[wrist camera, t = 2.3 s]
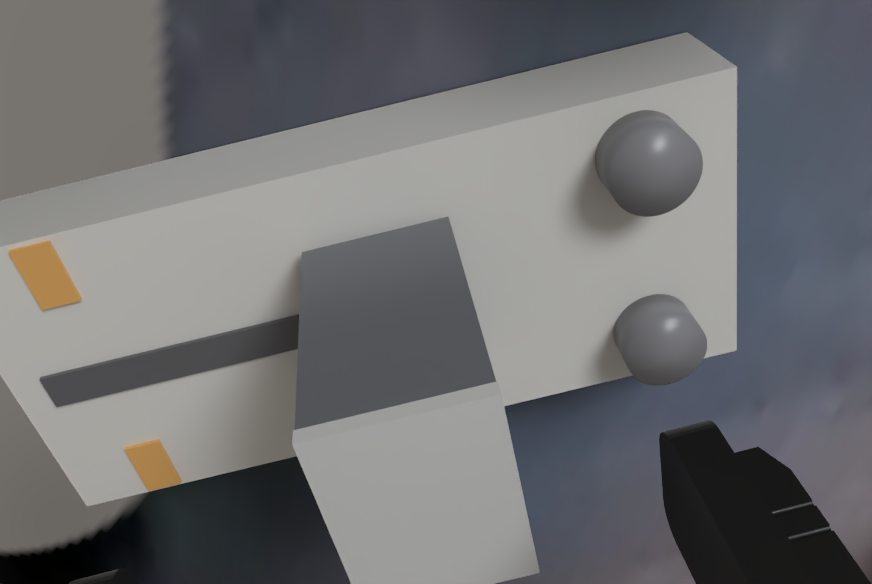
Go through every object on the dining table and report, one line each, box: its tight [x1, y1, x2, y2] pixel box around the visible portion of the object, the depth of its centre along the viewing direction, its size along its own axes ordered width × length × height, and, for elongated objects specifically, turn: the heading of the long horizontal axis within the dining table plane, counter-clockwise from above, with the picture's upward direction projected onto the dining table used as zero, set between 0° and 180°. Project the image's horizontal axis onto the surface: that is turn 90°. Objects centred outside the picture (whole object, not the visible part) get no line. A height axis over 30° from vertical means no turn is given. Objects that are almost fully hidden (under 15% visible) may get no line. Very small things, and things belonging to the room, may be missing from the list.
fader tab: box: [292, 217, 540, 584], centre depth 15 cm, size 3×4×6 cm
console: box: [0, 32, 737, 506], centre depth 18 cm, size 16×7×4 cm, turn 102°
